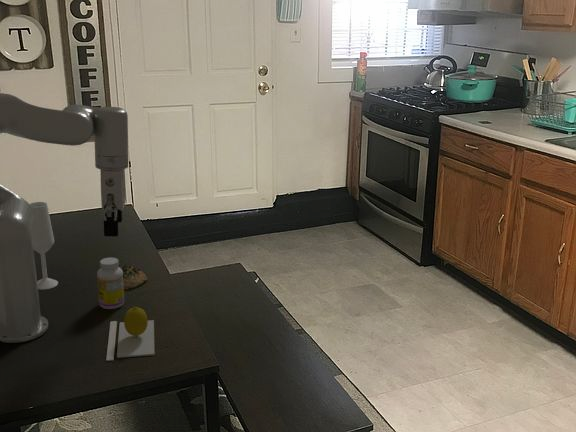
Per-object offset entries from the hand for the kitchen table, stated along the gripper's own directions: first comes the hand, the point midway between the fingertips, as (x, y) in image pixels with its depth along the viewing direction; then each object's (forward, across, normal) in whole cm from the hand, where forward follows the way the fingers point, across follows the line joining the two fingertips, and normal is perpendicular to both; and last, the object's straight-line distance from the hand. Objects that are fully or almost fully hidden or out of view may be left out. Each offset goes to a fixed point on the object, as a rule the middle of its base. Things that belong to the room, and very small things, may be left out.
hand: (113, 228), depth 152 cm
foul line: (+25, -10, 0) cm, 27 cm away
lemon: (+25, -9, -6) cm, 27 cm away
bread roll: (+26, +23, -1) cm, 35 cm away
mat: (+25, -10, -6) cm, 28 cm away
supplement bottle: (+26, +9, +2) cm, 27 cm away
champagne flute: (+26, +23, +22) cm, 41 cm away
